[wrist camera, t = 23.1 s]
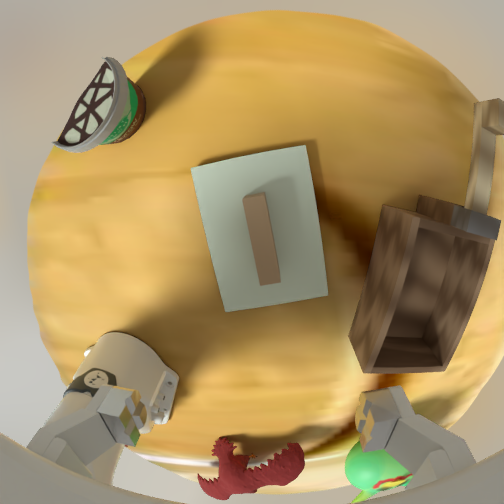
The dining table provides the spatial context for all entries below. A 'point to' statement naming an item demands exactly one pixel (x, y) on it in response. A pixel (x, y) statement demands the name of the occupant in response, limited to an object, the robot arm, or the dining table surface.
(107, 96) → the food container
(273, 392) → the dining table surface
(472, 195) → the wooden key
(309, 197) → the toolbox lid
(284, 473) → the red toy dinosaur
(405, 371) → the toolbox
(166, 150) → the dining table surface
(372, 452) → the toy bird
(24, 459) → the robot arm
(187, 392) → the dining table surface
